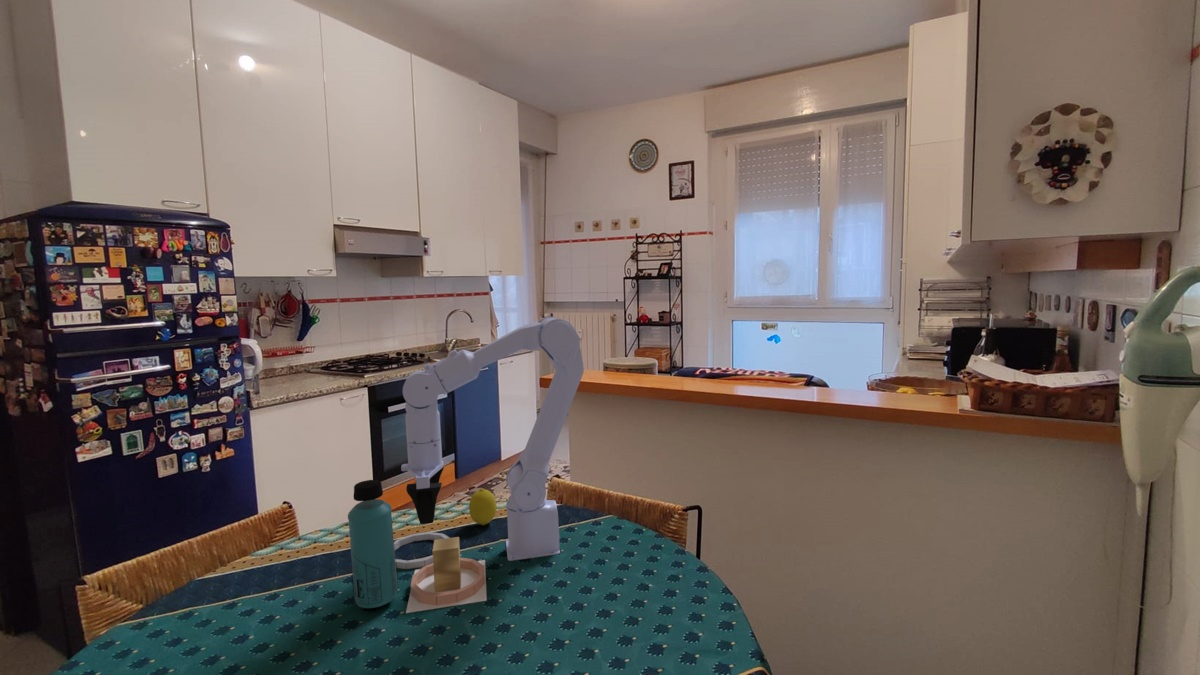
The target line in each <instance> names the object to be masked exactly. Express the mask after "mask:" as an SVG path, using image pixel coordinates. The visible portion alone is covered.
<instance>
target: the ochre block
mask: <svg viewBox="0 0 1200 675" xmlns="http://www.w3.org/2000/svg"><path fill="white" fill-rule="evenodd" d="M460 546H461V545H460V537H459V536H455V537H449V538H445V539H437V540H433V546H432V555H433V568H434V584H435V593H436V592H443V591H449V590H456V589H460V588H461V562H460V558H461V547H460Z"/></svg>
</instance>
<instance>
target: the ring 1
mask: <svg viewBox="0 0 1200 675" xmlns="http://www.w3.org/2000/svg"><path fill="white" fill-rule="evenodd" d="M445 538H450V537H449V536H448V535H447V534H444V533H441V532H440V533H439V532H431V531H426V532H418V533H412V534H410V535H409V534H408V535H407V536H404V537H401V538H397V539H396V540H394V549H395V548H396V549H395V550H396V551H397V550H398V549H400V547H403V546H405V545H409V544H411V543H414V542H419V541H427V540H429V541H434V540H437V539H445ZM395 559H396V560H395V562H396V563H397V569H402V570H411V569H417V568H418V569H420V568H423V567H424V566H426V565H429V564H432V563H433V554H432V555H429V556H426V557H424V558H418V559H410V560H406V559H405V560H404V559H400V558H399V559H398V558H395Z"/></svg>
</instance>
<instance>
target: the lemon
mask: <svg viewBox="0 0 1200 675" xmlns="http://www.w3.org/2000/svg"><path fill="white" fill-rule="evenodd" d="M468 511H469V515H470V518H471V520H472V521H474V523H476V524H478V525H481V526H486V525H487V524H488V523H490V522H491V521H492V520H494V518H495V516H496V512H497V501H496V498H495V495H494V494H493V493H492V492H491V491H490V490H488V489H485V488H480V489H479V490H477V491H475V492H474V493H473V494H472V495H471V497H470V500H469V505H468Z"/></svg>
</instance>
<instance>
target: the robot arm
mask: <svg viewBox="0 0 1200 675" xmlns="http://www.w3.org/2000/svg"><path fill="white" fill-rule="evenodd" d="M541 349H542V350H543V351H544V352H545V354H546V355H547V356H548V359H549V360H550V362H551V365H552V366H553V368H554V374H553V375H552V379H551V382H550V384H549V386H548V389H547V391H546V395H545V397H544V400H543V402H542V404H541V406H540V409H539V412H538V415H537V417H536V420H535V423H534V425H533V428H532V430H531V433H530V435H529V436H528V437H529V438H528V441H527V443H526V445H525V447H524V449H523V450H522V451H521V452H520V454H519V455H518V458H517V460H516V461H515V463H514V464H513V465H512V466H510V468H509V469H508V470H507V473H506V477H505V480H506V481H505V482H506V485H507V487H508V488H509V493H510V496H509V498H508V500H507V501H506V513H507V514H506V517H507V519H506V520H507V537H508V539H506V540H505V546H506V547H505V548H506V554H507V555H506V557H507V561H508V562H511V561H512V562H513V561H519V560H526V559H531V558H539V557H540V558H541V557H548V556H554V555H560V554H561V551H560V529H559V513H558V507H557V506H558V505H557V502H556V500H554V499H547V498H546V495H547V488H546V484H547V479H548V476H549V471H550V459H551V457H552V454H553V453H554V452H553V451H554V450H555V447H556V444H557V442H558V440H559V437H560V434H561V432H562V429H563V426H564V424H565V421H566V420H567V419H566V418H567V416H568V414H569V412H570V408H571V405H572V404H573V400H574V398H575V396H576V393H577V390H578V389H579V386H580V383H581V380H582V377H583V375H584V371H585V367H584V362H583V356H582V350H581V349H582V348H581V338H580V336H579V334H578V332H577V331H576V329H575V327H574V326H573V325H572V324H571V323H570V322H569V321H568V320H566V319H564V318H563V319H562V318H557V317H554V316H545V317H543V318H541V319H540V320H538V321H533V322H529V323H527V324H525V325H522V326H520V327H517V328H516V329H514V330H512V331H510V332H509V333H507V334H505V335H503V336H501V337H499V338H497V339H495V340H494V341H491V342H490V343H488V344H486V345H484V346H483V347H481V348H479V349H477V350H475V351H469V350H467V349H460V350H459V351H457V349H453V350H451V351H449V352H448V355H449V356H446V357H444V358H442V359H441V360H438V361H436V362H434V363H432V364H430V363H426V364H424V365H423V368H424V369H419V370H416V371H414V372H412V373H411V374H409V375H408V376H407V378H406V379H405V382H404V383H403V385H402V396H403V399H404V400H405V406H404V407H405V412H406V414H405V416H404V418H405V433H406V434H405V435H406V449H407V463H403V464H401V467H400V469H401V472H408V473H409V474H410V475H411V476H412V477H413V478H414V479H415V483H408V484H406V487H405V488H406V492H407V495H408V496H409V497H410V499H411V501H412V502H413V504H414V508H415V512H416V515H417V518H418V521H419V524H420V525H427V524H433V523H434V519H435V513H436V505H437V500H438V495H439V493H440V491H441V488H442V485H443V483H442V482H440V480H441V475H442V473H443V471H444V468H445V464H444V460H443V451H442V434H441V432H442V431H441V414H440V411H439V410H438V405H439V404H438V397H439V395H446V394H448V393H450V392H453V391H455V390H457V389H458V388H460V387H462V386H464V385H466V384H468V383H470V382H472V381H474V380H476V379H478V377H479V375H480V372H481V369H482V368H484V367H486V366H489V365H490V364H493V363H495V362H497V361H500V360H502V359H504V358H506V357H509V356H510V355H513V354H515V353H517V352H520V351H521V350H525V351H526V350H527V351H537V352H538V351H541Z"/></svg>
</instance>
